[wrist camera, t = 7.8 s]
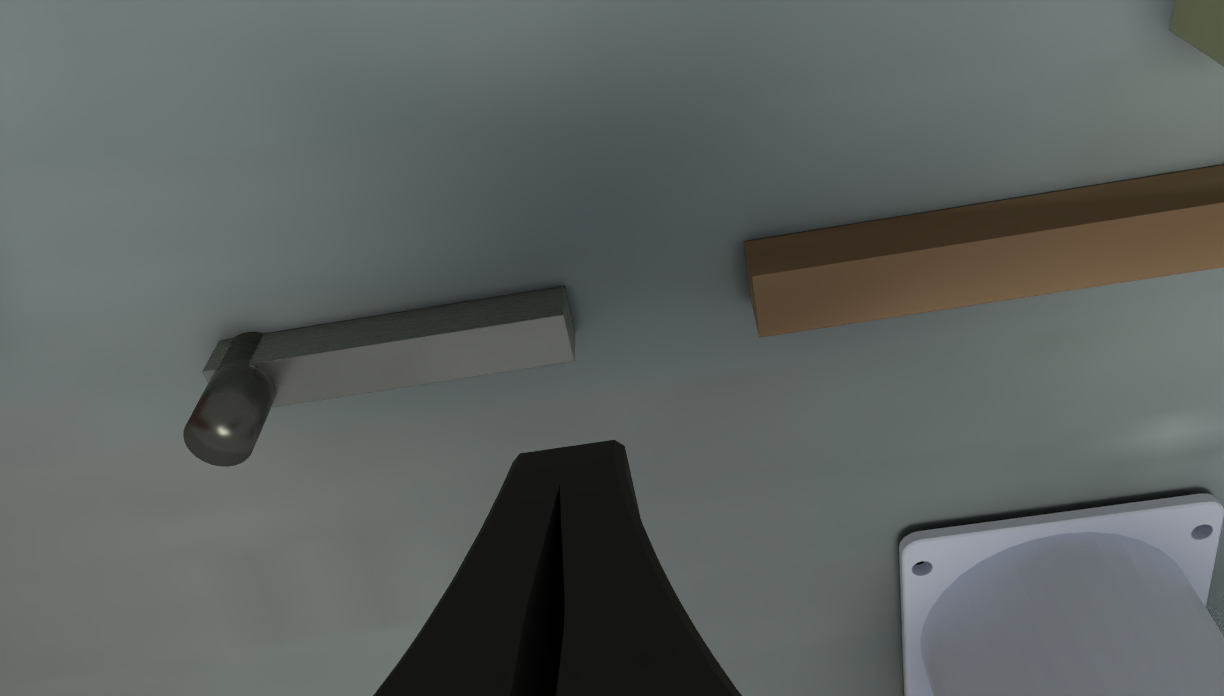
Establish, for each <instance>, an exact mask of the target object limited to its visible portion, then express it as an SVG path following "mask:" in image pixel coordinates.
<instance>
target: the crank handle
mask: <svg viewBox="0 0 1224 696" xmlns="http://www.w3.org/2000/svg"><path fill="white" fill-rule="evenodd" d="M574 355H575V328H574V323H573V319H572V315H571V311H570V306H569V302H568V298H567V294H566V289H565V286H563V287H557V288H550V289H544V290H538V291H531V292H525V293H519V294H513V295H506V296H500V297H494V298H487V299H481V300H475V301H469V302H462V303H456V304H450V305H444V306H437V307H431V308H425V309H418V310H412V311H406V312H400V313H393V314H387V315H381V316H374V317H368V318H362V319H356V320H349V321H343V322H337V323H331V324H324V325H318V326H312V327H305V328H299V329H293V330H287V331H280V332H274V333H268V334H261V333H244V334H241V335H239V336H237V337H235V338H234V339H230V340H224V341H219V342H218V344H217V346H216V348H215V350H214V351H213V353H212V355H211V357H210V359H209V360H208V362H207V364H206V366H205V368H204V370H203V371H202V372H203V374H204V376H205V378H206V380H207V382H208V385H207V387H206V389H205V390H204V392H203V394H202V396H201V398H200V400H199V402H198V404H197V405H196V407H195V409H194V411H193V413H192V415H191V417H190V419H189V420H188V422H187V424H186V426H185V429H184V441H185V443H186V445H187V447H188V449H189V450H190V451H191V452H192V453H193V454H194V455H195V456H196V457H197V458H199V459H201V460H202V461H204V462H207V463H209V464H212V465H216V466H233V465H237V464H240V463H242V462H244V461H245V460H246V459H247V458H248V457H249V456H250V455H251V453H252V451H253V448H254V446H255V444H256V441H257V439H258V437H259V434H260V432H261V430H262V427H263V425H264V423H265V421H266V418H267V416H268V414H269V411H270V409H271V407H278V406H284V405H291V404H297V403H304V402H311V401H317V400H324V399H330V398H337V397H343V396H350V395H356V394H363V393H369V392H376V391H383V390H389V389H396V388H402V387H409V386H415V385H422V384H428V383H435V382H441V381H448V380H455V379H461V378H468V377H474V376H481V375H487V374H494V373H500V372H507V371H514V370H520V369H527V368H533V367H540V366H546V365H553V364H559V363H566V362H572V361H574Z"/></svg>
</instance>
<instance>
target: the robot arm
mask: <svg viewBox="0 0 1224 696" xmlns="http://www.w3.org/2000/svg"><path fill="white" fill-rule="evenodd" d="M1223 518H1224V508H1223V506H1222V505H1221V504H1220V502H1219V501H1218V500H1217V498H1216V497H1215V496H1213V495H1211V494H1193V495H1186V496H1178V497H1171V498H1163V499H1156V500H1148V501H1141V502H1133V503H1126V504H1118V505H1111V506H1103V507H1096V508H1088V509H1081V510H1073V511H1066V512H1058V513H1051V514H1043V515H1036V516H1028V517H1021V518H1013V519H1006V520H999V521H991V522H984V523H976V524H969V525H961V526H954V527H946V528H939V529H931V530H924V531H917V532H913V533H910V534H909V535H907V536H906V537H904V538H903V540H902V541H901V542H900V546H899V563H900V591H901V619H902V647H903V676H904V696H1224V636H1223V634H1222V632H1221V631H1220V629H1219V628H1218V626H1217V624H1216V623H1215V621H1214V620H1213V618H1212V617H1211V615H1210V613H1209V612H1208V610H1207V609H1206V604H1207V599H1208V594H1209V589H1210V584H1211V579H1212V574H1213V569H1214V564H1215V558H1216V553H1217V548H1218V543H1219V538H1220V533H1221V528H1222V523H1223ZM1200 525H1201V526H1200ZM1197 526H1200V527H1198V528H1196V527H1197ZM921 561H926V562H924V563H922V564H919V565H915V564H916V563H918V562H921ZM373 696H742V695H741V694H740V693H739V691H738V690H737V689H736V687H735V686H734V685H733V683H732V682H731V680H730V679H729V678H728V676H727V675H726V673H725V672H724V670H723V669H722V668H721V666H720V665H719V663H718V662H717V660H716V659H715V658H714V656H713V655H712V653H711V651H710V650H709V648H708V647H707V645H706V644H705V642H704V641H703V639H702V638H701V636H700V634H699V633H698V631H697V630H696V628H695V626H694V625H693V623H692V621H691V620H690V618H689V616H688V615H687V613H686V611H685V609H684V608H683V606H682V604H681V602H680V601H679V599H678V597H677V595H676V593H675V591H674V590H673V588H672V586H671V584H670V582H669V580H668V578H667V576H666V574H665V572H664V570H663V568H662V566H661V564H660V562H659V560H658V558H657V556H656V554H655V551H654V549H653V547H652V545H651V542H650V540H649V538H648V536H647V533H646V531H645V529H644V527H643V524H642V521H641V519H640V514H639V510H638V505H637V500H636V496H635V491H634V487H633V482H632V478H631V473H630V469H629V464H628V459H627V455H626V450H625V446H624V445H622V444H620V443H619V442H617V441H615V440H610V441H603V442H596V443H590V444H583V445H576V446H569V447H562V448H555V449H548V450H541V451H534V452H527V453H521V454H519V455H518V457H517V458H516V459H515V460H514V461H513V463H512V465H511V468H510V470H509V472H508V475H507V477H506V479H505V481H504V483H503V485H502V488H501V490H500V492H499V494H498V496H497V498H496V500H495V502H494V504H493V506H492V508H491V510H490V512H489V514H488V516H487V518H486V520H485V522H484V524H483V526H482V528H481V530H480V532H479V534H478V536H477V537H476V539H475V541H474V543H473V545H472V546H471V548H470V550H469V552H468V554H467V555H466V557H465V559H464V561H463V563H462V564H461V566H460V568H459V570H458V572H457V573H456V575H455V577H454V578H453V580H452V582H451V584H450V585H449V587H448V588H447V590H446V592H445V593H444V595H443V596H442V598H441V599H440V601H439V603H438V604H437V606H436V607H435V609H434V611H433V612H432V614H431V615H430V617H429V618H428V620H427V622H426V623H425V625H424V626H423V628H422V629H421V631H420V632H419V634H418V635H417V637H416V638H415V640H414V641H413V643H412V644H411V646H410V647H409V648H408V650H407V651H406V653H405V654H404V655H403V657H402V658H401V660H400V661H399V662H398V664H397V665H396V667H395V668H394V669H393V670H392V672H391V673H390V674H389V676H388V677H387V678H386V680H385V681H384V682H383V684H382V685H381V686H380V688H379V689H378V690H377V691H376V693H375V694H374V695H373Z"/></svg>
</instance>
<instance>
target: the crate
mask: <svg viewBox="0 0 1224 696" xmlns="http://www.w3.org/2000/svg"><path fill="white" fill-rule="evenodd" d="M1170 31H1172V32H1173V33H1175V34H1176V35H1178V36H1179V37H1181V38H1182V39H1184V40H1185V41H1187V42H1188V43H1190V44H1191V45H1193V46H1194V47H1196V48H1197V49H1199V50H1200V51H1202V52H1203V53H1205V54H1206V55H1208V56H1209V57H1210V58H1212V59H1213V60H1215V61H1216V62H1218V63H1219V64H1221V65H1222V66H1224V0H1175V3H1174V9H1173V14H1172V19H1171V24H1170Z"/></svg>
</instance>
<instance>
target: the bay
mask: <svg viewBox="0 0 1224 696" xmlns="http://www.w3.org/2000/svg"><path fill="white" fill-rule="evenodd" d="M744 247H745V255H746V263H747V271H748V280H749V288H750V296H751V303H752V307H753V311H754V316H755V320H756V324H757V329H758V333H759V337H766V336H773V335H780V334H786V333H793V332H799V331H806V330H812V329H819V328H826V327H832V326H839V325H845V324H852V323H859V322H865V321H872V320H878V319H885V318H891V317H898V316H905V315H911V314H918V313H924V312H931V311H938V310H944V309H951V308H957V307H964V306H970V305H977V304H984V303H990V302H997V301H1003V300H1010V299H1017V298H1023V297H1030V296H1036V295H1043V294H1049V293H1056V292H1063V291H1069V290H1076V289H1082V288H1089V287H1095V286H1102V285H1109V284H1115V283H1122V282H1128V281H1135V280H1142V279H1148V278H1155V277H1161V276H1168V275H1174V274H1181V273H1188V272H1194V271H1201V270H1207V269H1214V268H1221V267H1224V165H1219V166H1213V167H1207V168H1201V169H1194V170H1188V171H1182V172H1176V173H1169V174H1163V175H1157V176H1151V177H1144V178H1138V179H1132V180H1126V181H1119V182H1113V183H1107V184H1101V185H1095V186H1088V187H1082V188H1076V189H1070V190H1063V191H1057V192H1051V193H1045V194H1038V195H1032V196H1026V197H1020V198H1013V199H1007V200H1001V201H995V202H989V203H982V204H976V205H970V206H964V207H957V208H951V209H945V210H939V211H932V212H926V213H920V214H914V215H907V216H901V217H895V218H889V219H882V220H876V221H870V222H864V223H858V224H851V225H845V226H839V227H833V228H826V229H820V230H814V231H808V232H801V233H795V234H789V235H783V236H776V237H770V238H764V239H758V240H752V241H745V242H744Z"/></svg>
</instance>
